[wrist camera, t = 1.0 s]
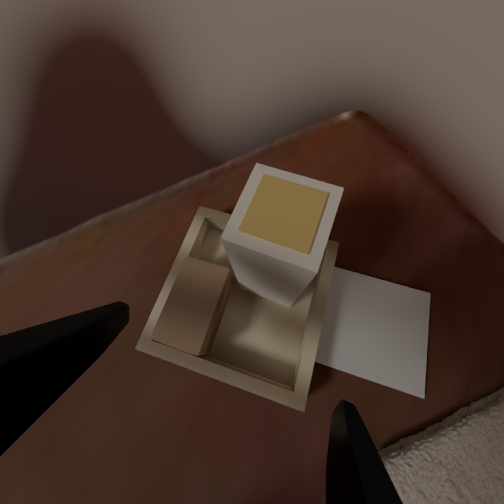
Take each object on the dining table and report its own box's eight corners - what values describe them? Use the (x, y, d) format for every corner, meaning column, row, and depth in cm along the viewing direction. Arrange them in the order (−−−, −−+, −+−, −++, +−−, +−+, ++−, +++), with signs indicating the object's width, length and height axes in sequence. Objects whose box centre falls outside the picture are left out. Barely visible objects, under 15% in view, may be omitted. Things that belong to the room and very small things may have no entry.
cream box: (290, 307, 22) (318, 272, 11) (240, 288, 23) (219, 237, 12) (306, 259, 24) (345, 183, 12) (259, 243, 25) (257, 159, 13)
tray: (298, 402, 20) (304, 412, 17) (151, 347, 22) (135, 348, 19) (330, 253, 24) (339, 242, 22) (206, 220, 27) (199, 206, 24)
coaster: (419, 397, 20) (424, 399, 19) (313, 360, 21) (314, 361, 20) (426, 294, 23) (430, 293, 22) (332, 268, 24) (334, 266, 23)
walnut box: (208, 355, 21) (197, 358, 17) (168, 340, 22) (148, 340, 18) (235, 280, 23) (229, 268, 20) (197, 268, 24) (185, 255, 20)
